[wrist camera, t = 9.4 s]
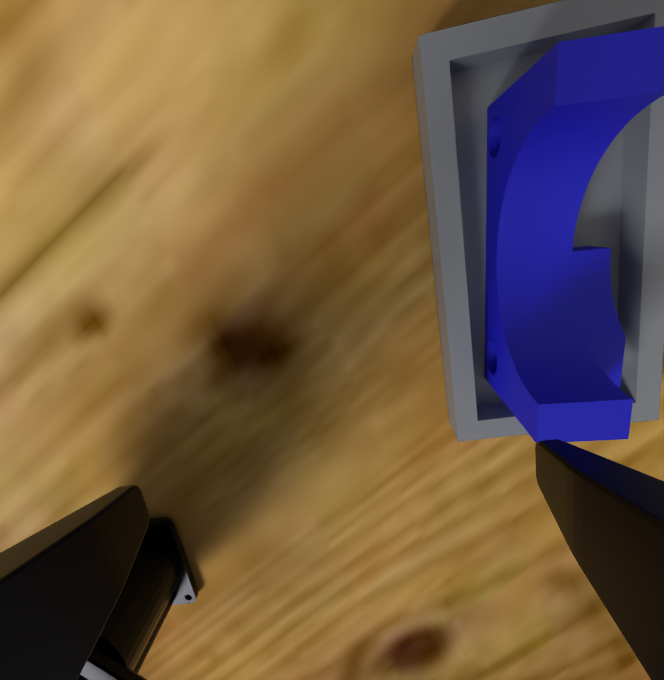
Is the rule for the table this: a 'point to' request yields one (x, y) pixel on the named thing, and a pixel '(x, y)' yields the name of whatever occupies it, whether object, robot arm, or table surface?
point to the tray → (594, 215)
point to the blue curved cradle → (559, 235)
